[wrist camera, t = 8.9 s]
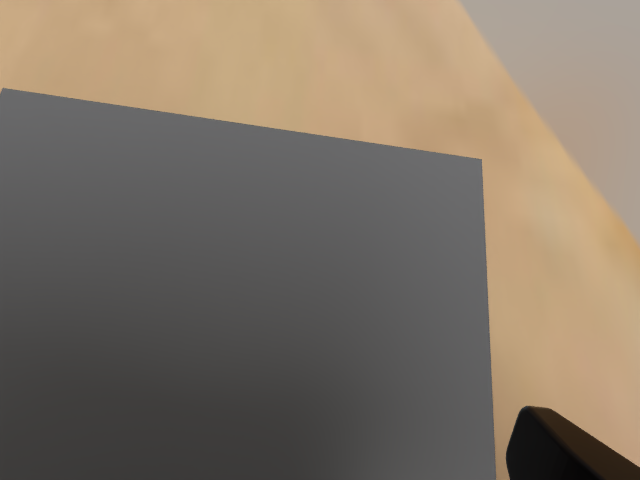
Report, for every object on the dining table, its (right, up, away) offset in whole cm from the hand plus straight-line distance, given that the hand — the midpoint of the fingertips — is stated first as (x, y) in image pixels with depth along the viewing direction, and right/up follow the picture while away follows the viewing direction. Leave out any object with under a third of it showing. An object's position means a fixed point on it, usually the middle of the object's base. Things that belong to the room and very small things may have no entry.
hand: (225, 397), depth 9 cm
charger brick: (-1, -4, +7) cm, 8 cm away
